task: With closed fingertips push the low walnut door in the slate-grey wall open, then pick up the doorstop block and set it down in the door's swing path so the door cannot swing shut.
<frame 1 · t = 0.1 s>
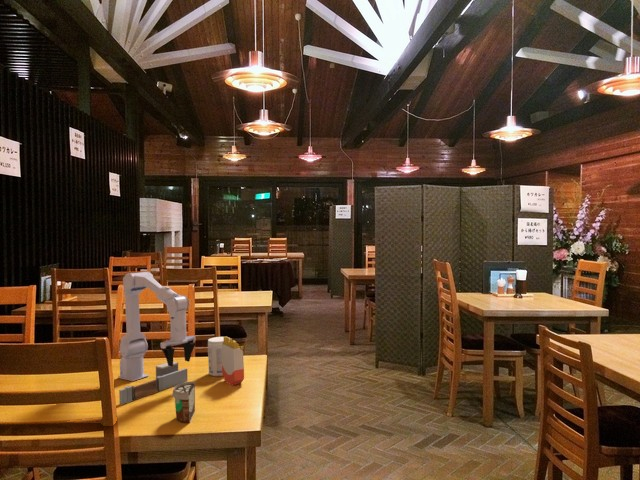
hand: (179, 363, 182), 10 cm above the table, fingers open, 7 cm apart
food container: (182, 418, 155), on the table
door: (144, 389, 176), point 2 cm above the table, hinge at 0.0°
doorstop: (167, 378, 196), on the table
wall: (155, 391, 180), on the table
supplement tub: (220, 374, 202), on the table
french fries container: (233, 382, 190), on the table
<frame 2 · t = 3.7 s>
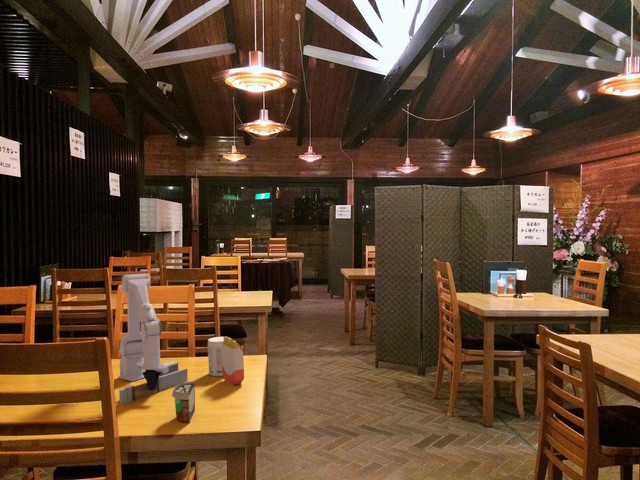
hand: (152, 389, 177), 2 cm above the table, fingers closed
door: (144, 389, 176), point 2 cm above the table, hinge at 0.1°, touching gripper
everything else where it was.
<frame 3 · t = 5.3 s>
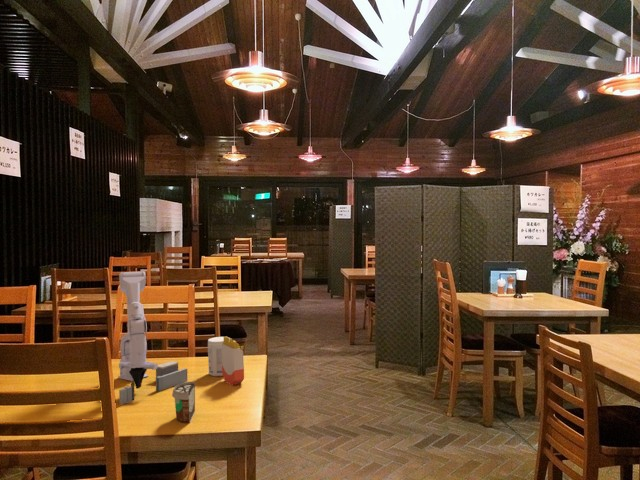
hand: (138, 387, 179), 2 cm above the table, fingers closed
door: (132, 389, 176), point 2 cm above the table, hinge at 53.7°, touching gripper
everything else where it was.
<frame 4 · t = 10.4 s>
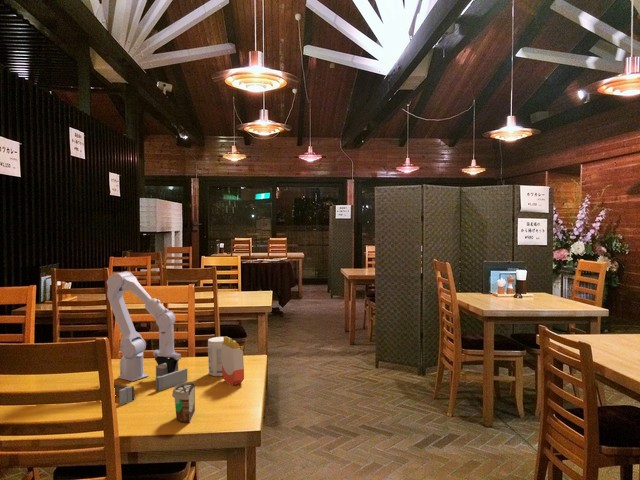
hand: (167, 374, 196), 2 cm above the table, fingers closed on doorstop, 4 cm apart
door: (123, 391, 174), point 2 cm above the table, hinge at 94.2°
doorstop: (167, 378, 196), on the table, touching gripper
everything else where it was.
when the fingers open (3 cm above the table, at t = 13.9 s): doorstop stays where it is, on the table.
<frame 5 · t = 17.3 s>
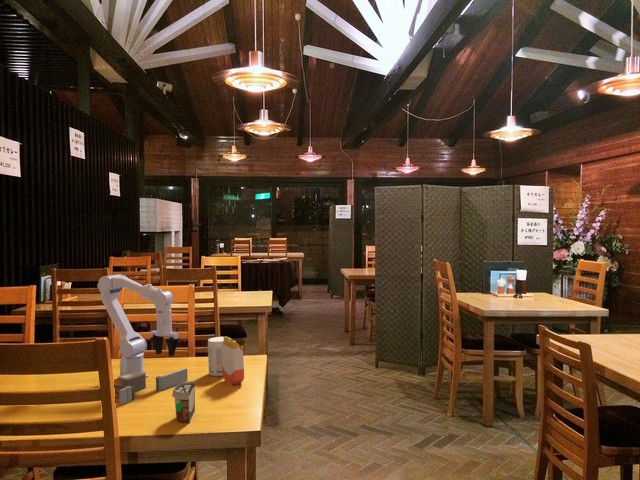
hand: (165, 354, 193), 10 cm above the table, fingers open, 7 cm apart
doorstop: (133, 390, 182), on the table
everything else where it was.
at the end: door at +94° (first picture: +0°); doorstop inside the target area (0.9 cm from its centre), on the table; doorstop tilted 0° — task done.
